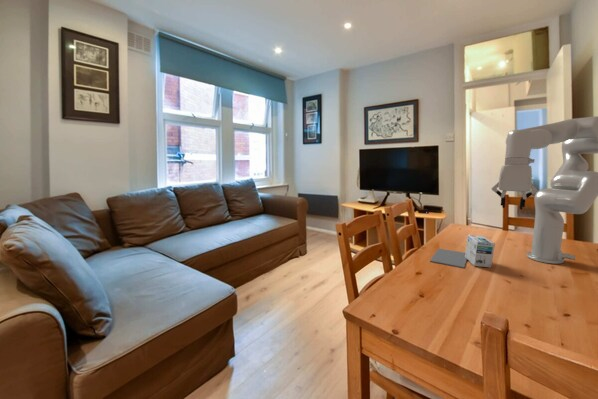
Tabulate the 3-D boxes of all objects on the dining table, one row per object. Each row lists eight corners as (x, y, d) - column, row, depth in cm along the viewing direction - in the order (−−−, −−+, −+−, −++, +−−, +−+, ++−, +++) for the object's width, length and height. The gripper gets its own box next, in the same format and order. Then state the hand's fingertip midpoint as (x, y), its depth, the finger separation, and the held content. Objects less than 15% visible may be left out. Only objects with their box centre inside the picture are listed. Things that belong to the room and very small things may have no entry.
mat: (468, 254, 129) (468, 253, 129) (463, 268, 113) (463, 267, 113) (438, 249, 137) (438, 248, 137) (429, 261, 121) (429, 260, 121)
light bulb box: (491, 268, 113) (495, 243, 111) (473, 266, 114) (477, 241, 112) (480, 258, 123) (483, 235, 122) (463, 256, 125) (467, 234, 123)
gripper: (544, 162, 105) (539, 208, 107) (490, 162, 115) (486, 204, 117) (547, 162, 99) (541, 211, 101) (489, 162, 109) (485, 207, 111)
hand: (512, 207), depth 109 cm, fingers open, 4 cm apart
